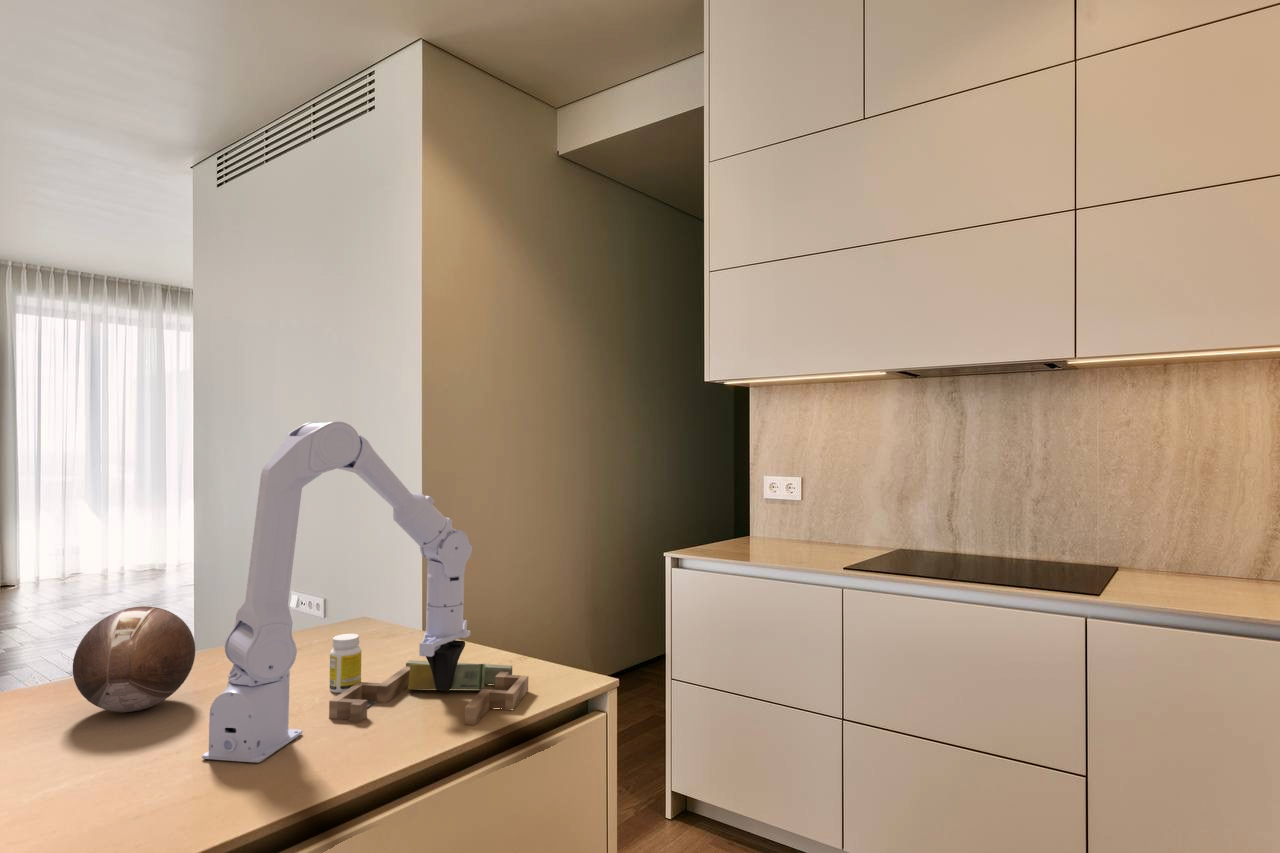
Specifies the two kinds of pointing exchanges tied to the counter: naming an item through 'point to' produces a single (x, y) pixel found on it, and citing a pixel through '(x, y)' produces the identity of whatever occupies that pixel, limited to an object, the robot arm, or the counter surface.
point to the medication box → (463, 679)
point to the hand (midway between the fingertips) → (443, 689)
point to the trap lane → (366, 694)
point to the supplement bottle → (345, 662)
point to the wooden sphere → (133, 659)
